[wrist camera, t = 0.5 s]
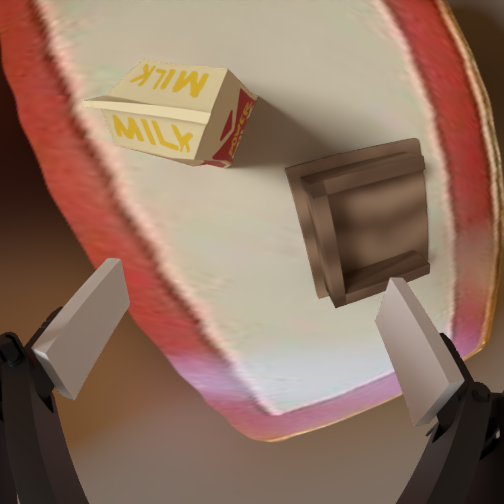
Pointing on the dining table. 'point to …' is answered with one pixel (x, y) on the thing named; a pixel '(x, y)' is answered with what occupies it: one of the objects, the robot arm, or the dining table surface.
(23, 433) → the robot arm
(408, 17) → the dining table surface
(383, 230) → the carton bracket
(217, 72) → the milk carton
